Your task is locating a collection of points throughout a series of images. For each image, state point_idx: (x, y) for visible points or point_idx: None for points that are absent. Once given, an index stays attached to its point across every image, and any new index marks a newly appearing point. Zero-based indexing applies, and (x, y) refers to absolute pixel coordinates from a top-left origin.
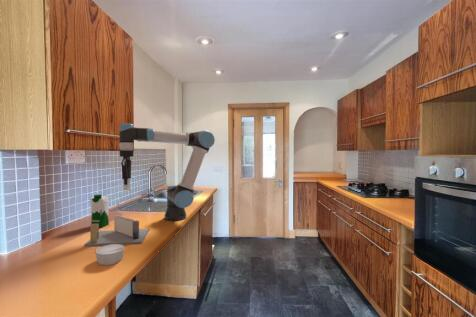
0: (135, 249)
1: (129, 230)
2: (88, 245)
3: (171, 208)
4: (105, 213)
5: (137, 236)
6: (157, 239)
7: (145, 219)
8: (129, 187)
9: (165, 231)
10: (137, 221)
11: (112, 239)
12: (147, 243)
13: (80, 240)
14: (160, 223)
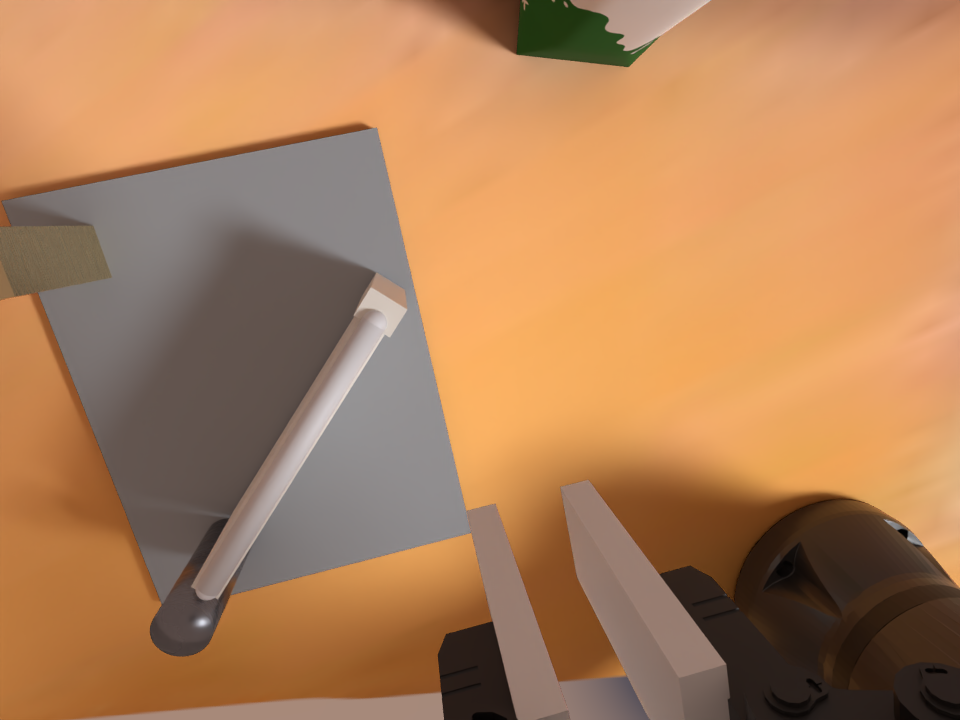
0: (51, 616)
1: (243, 497)
2: None
3: (829, 648)
4: (601, 31)
5: None
6: (271, 667)
7: (787, 351)
8: (591, 604)
9: None
10: (181, 646)
11: (167, 373)
12: None
13: (145, 65)
14: (660, 531)
